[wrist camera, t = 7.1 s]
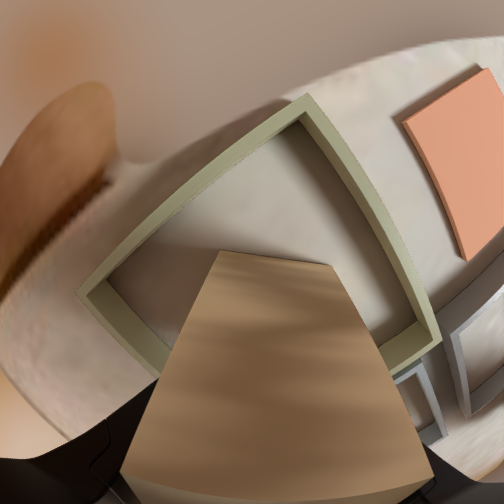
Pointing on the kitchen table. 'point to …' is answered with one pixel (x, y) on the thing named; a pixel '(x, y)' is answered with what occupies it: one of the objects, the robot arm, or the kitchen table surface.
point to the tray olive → (303, 109)
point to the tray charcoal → (456, 320)
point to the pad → (465, 157)
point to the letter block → (274, 398)
